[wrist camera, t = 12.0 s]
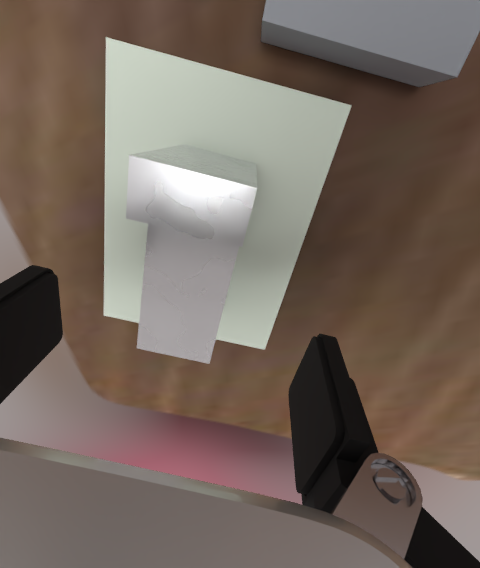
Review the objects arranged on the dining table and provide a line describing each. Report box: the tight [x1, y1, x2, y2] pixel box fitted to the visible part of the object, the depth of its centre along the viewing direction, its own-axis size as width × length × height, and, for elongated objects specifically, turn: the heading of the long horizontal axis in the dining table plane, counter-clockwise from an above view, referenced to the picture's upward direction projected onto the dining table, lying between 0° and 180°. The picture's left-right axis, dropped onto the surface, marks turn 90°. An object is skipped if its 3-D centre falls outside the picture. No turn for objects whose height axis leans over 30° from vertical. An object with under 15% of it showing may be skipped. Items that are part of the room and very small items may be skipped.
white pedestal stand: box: [126, 144, 257, 364], centre depth 14 cm, size 4×10×8 cm, turn 167°
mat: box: [104, 37, 352, 350], centre depth 18 cm, size 12×16×1 cm
